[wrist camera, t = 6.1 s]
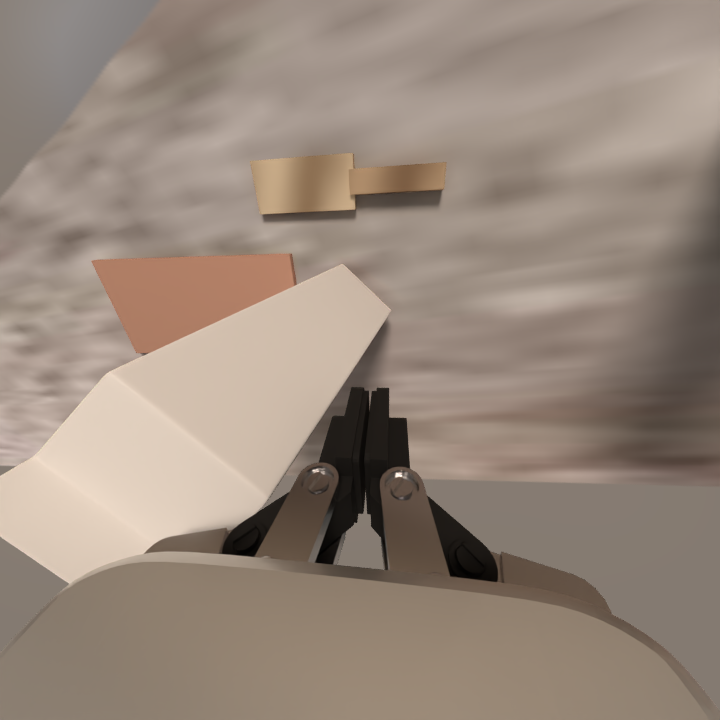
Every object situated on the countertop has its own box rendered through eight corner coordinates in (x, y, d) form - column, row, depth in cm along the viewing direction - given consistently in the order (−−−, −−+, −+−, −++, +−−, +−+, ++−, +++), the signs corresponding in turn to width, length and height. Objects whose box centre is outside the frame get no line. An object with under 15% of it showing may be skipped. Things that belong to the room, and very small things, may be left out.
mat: (97, 259, 27) (91, 260, 26) (291, 253, 24) (289, 254, 24) (140, 350, 31) (136, 352, 31) (306, 353, 29) (305, 355, 28)
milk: (343, 262, 23) (-88, 449, 5) (393, 310, 24) (182, 639, 5) (307, 310, 27) (-31, 530, 8) (352, 351, 27) (134, 644, 9)
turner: (263, 214, 23) (258, 214, 22) (254, 162, 21) (248, 160, 20) (440, 205, 21) (442, 204, 20) (445, 147, 19) (448, 144, 18)
